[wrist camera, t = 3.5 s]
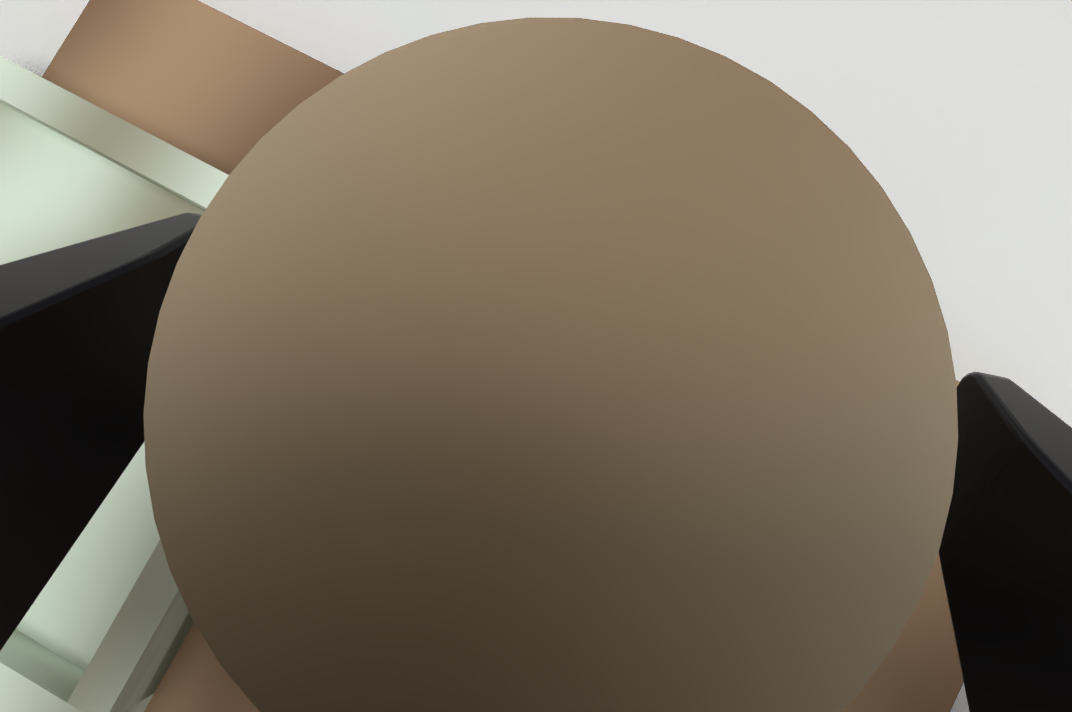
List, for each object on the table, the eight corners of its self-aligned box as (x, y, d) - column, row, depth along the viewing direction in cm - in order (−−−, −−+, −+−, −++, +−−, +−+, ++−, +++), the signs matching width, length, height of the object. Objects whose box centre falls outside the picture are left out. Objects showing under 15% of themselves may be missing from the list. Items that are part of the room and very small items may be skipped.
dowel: (673, 402, 16) (1094, 229, 3) (595, 554, 16) (730, 1005, 3) (525, 324, 17) (389, -103, 4) (445, 472, 16) (-7, 568, 3)
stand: (1044, 439, 17) (1193, 438, 13) (742, 1092, 16) (804, 1313, 12) (88, -41, 19) (-36, -169, 15) (-247, 493, 18) (-479, 507, 14)
